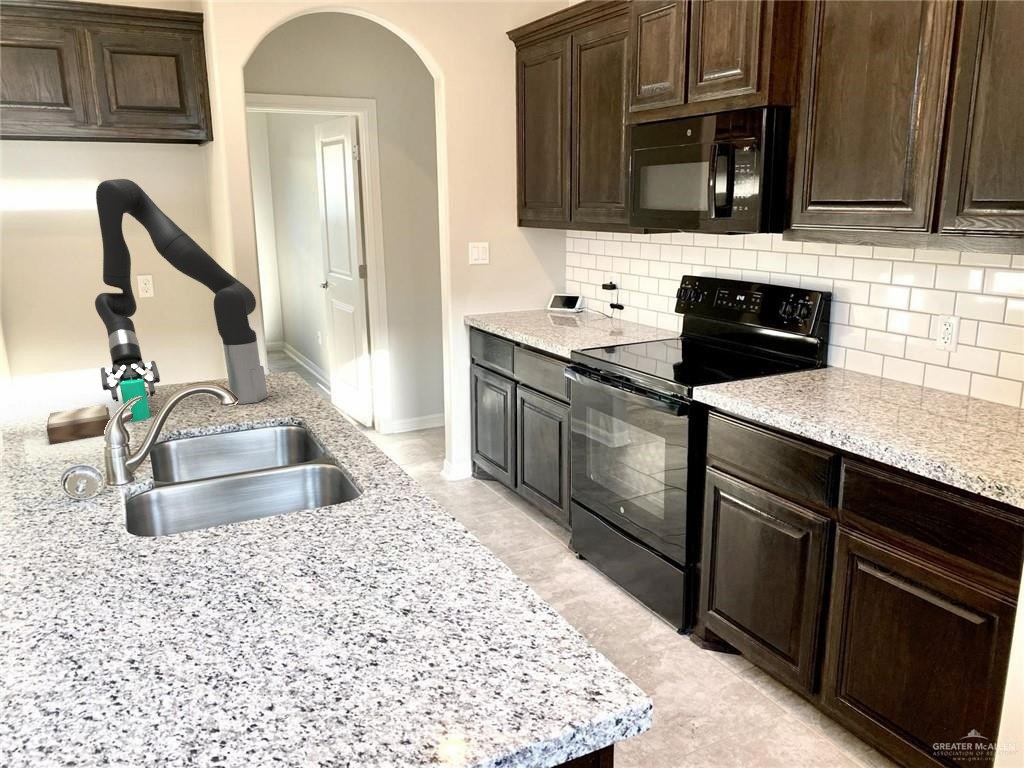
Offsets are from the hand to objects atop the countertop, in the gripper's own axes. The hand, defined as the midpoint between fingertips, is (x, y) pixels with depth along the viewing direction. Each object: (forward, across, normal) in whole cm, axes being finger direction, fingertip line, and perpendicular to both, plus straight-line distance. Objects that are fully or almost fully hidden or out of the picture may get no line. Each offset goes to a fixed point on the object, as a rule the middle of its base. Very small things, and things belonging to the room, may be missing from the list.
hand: (134, 397), depth 205 cm
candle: (+4, 0, +6) cm, 7 cm away
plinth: (+7, -14, +1) cm, 16 cm away
